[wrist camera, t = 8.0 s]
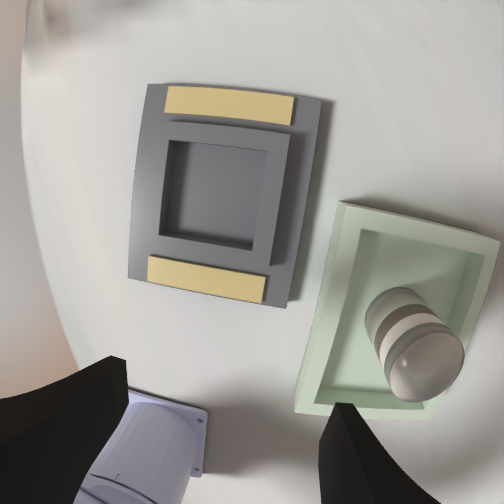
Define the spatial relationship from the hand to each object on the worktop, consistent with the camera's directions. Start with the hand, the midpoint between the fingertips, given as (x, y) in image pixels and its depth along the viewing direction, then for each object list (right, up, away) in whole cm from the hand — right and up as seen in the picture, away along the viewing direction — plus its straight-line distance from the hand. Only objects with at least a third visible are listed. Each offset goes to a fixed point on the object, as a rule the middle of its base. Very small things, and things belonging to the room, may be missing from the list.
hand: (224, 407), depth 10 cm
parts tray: (+10, +1, +9) cm, 14 cm away
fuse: (+10, +1, +9) cm, 13 cm away
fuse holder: (-1, +9, +9) cm, 12 cm away
